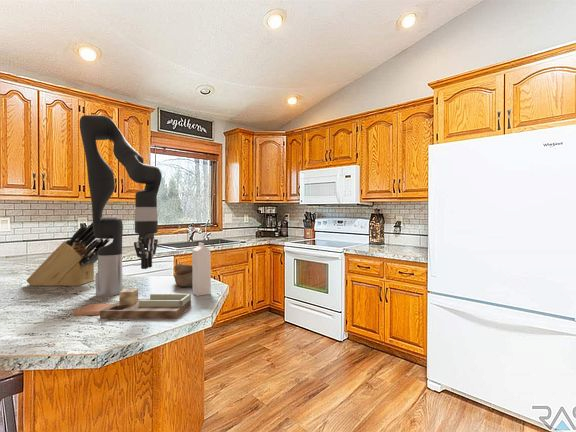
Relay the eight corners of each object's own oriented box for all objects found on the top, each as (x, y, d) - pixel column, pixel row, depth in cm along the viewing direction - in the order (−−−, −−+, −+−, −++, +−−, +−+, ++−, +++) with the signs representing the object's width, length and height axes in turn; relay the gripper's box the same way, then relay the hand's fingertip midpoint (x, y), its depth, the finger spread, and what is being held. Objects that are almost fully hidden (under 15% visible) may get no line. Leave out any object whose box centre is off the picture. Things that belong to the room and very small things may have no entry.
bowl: (160, 286, 146) (160, 265, 146) (184, 281, 158) (184, 261, 158) (187, 291, 137) (187, 268, 137) (210, 285, 149) (209, 264, 149)
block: (119, 304, 108) (119, 292, 108) (125, 301, 113) (125, 289, 113) (132, 304, 109) (132, 291, 109) (138, 301, 113) (138, 288, 113)
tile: (73, 314, 106) (73, 311, 106) (90, 306, 115) (90, 303, 115) (99, 314, 105) (99, 311, 105) (114, 306, 114) (114, 303, 114)
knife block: (98, 286, 147) (97, 221, 147) (25, 286, 148) (24, 222, 147) (112, 281, 158) (111, 221, 158) (44, 281, 159) (43, 221, 159)
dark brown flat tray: (100, 318, 102) (99, 310, 102) (123, 305, 116) (123, 299, 116) (176, 318, 101) (176, 311, 101) (190, 305, 115) (190, 299, 115)
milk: (197, 296, 129) (196, 243, 129) (192, 293, 134) (191, 242, 134) (211, 293, 133) (210, 242, 132) (205, 290, 138) (205, 241, 137)
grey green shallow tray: (138, 306, 106) (138, 300, 106) (151, 299, 116) (151, 293, 116) (181, 306, 106) (181, 300, 106) (190, 299, 115) (190, 293, 115)
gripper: (147, 220, 104) (147, 271, 104) (164, 219, 118) (165, 264, 118) (125, 220, 104) (125, 271, 104) (145, 219, 118) (145, 264, 118)
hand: (146, 267), depth 111 cm, fingers closed
